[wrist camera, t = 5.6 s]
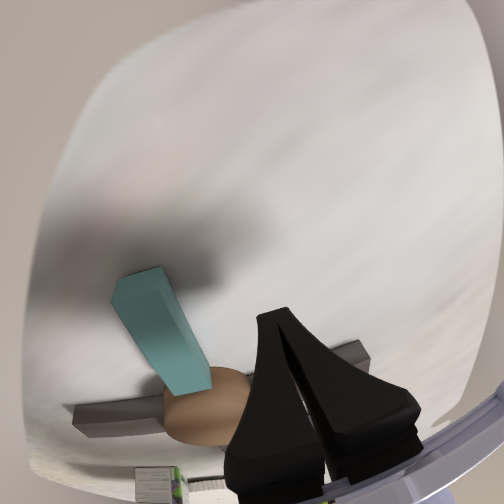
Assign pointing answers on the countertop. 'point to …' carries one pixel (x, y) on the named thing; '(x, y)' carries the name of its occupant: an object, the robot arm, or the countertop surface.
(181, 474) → the syrup box
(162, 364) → the teal rectangular block
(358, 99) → the countertop surface
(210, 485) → the plastic lid
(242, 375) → the grey brown t-shaped piece
